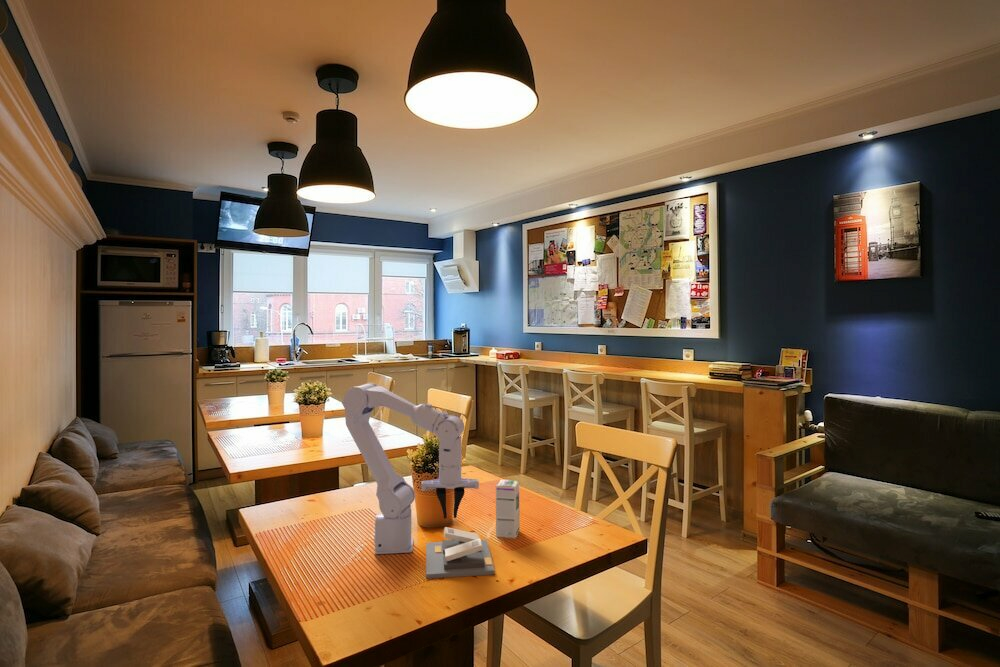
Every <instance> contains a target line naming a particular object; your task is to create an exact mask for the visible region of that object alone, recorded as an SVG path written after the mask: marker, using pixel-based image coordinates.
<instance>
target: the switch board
mask: <svg viewBox="0 0 1000 667" xmlns="http://www.w3.org/2000/svg"><path fill="white" fill-rule="evenodd" d="M463 543H467V542H462V541H457V540H452V539H444V540H442V541H437V542H436V541H434V542H426V545H425V546H426V548H425V551H426V552H425V553H426V555H425V579H426V580H427V579H440V578H442V579H443V577H444V578H458V577H472V576H473V577H474V576H475V577H476V576H491V575H492V574H496V573H495V572H496V570H495V567H494V562H493V559H492V554H491V551H490V547H489V544H488V540H487V539H481V543H482V547H483V550H481V551H478V552H475V553H472V554H469V555H466V556H462V557H459V558H456V559H453V560H450V561H446V558H445V549H447V548H451V547H454V546H457V545H460V544H463ZM492 576H493V575H492Z"/></svg>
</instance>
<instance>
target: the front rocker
mask: <svg viewBox="0 0 1000 667" xmlns="http://www.w3.org/2000/svg"><path fill="white" fill-rule="evenodd" d="M481 540H482V539H481V538H480V537H479V539H476V540H473V541H470V542H467V543H463V544H460V545H457V546H454V547H451V548H447V549H445V558H446V561H450V560H453V559H456V558H459V557H462V556H466V555H469V554H472V553H475V552H478V551H481V550H483V547H482V543H481Z"/></svg>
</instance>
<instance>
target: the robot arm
mask: <svg viewBox="0 0 1000 667" xmlns="http://www.w3.org/2000/svg"><path fill="white" fill-rule="evenodd" d="M341 404H342V406H343V408H344V414H345V415H344V416H345V425H346V426H345V427H346V428H347V430H348V431H349V432H348V433H350V436H351V437H352V440H353V442H354V443H355V445H356V447H357V448H358V450H359V452H360V455H361V456H362V458H363V460H364V462H365V463H366V466H367V467H368V469H369V471H370V473H371V475H372V478H373V479H374V481H375V483H376V485H377V487H376V493H375V494H376V495H375V496H376V497H377V500H378V508H379V511H380V512H381V513H378V514H376V515H375V519H374V539H373V540H374V542H373V544H374V554H375V555H385V554H387V555H388V554H389V555H390V554H402V553H413V548H414V538H413V537H412V508H411V507H412V506H411V505H412V504H413V503H414V501H415V498H416V493H415V490H414V488H413V487H412V485H410V484H409V483H407V481H406V480H405V477H403V476H401V475H400V474H398V473H397V472H396V470H395V468H394V467H393V465H392V463H391V462H390V460H389V457H388V455H387V453H386V452H385V450H384V448H383V446H382V445H381V443H380V440H379V439H378V437H377V435H376V433H375V431H374V429H373V427H372V426H371V423H370V422H369V421H370V418H371V415H372V413H373V411H374V409H375V408H378V407H386V408H387V409H390V410H393V411H395V412H396V413H400V414H402V415H404V416H406V417H409V418H410V419H411V422H412V424H413V425H415V426H418V427H420V428H421V429H424V430H426V431H428V432H430V433H432V434H434V435H436V438H437V439H438V440H439V443H438V445H439V447H438V460H439V461H438V478H435V479H431V480H429V479H428V480H422V481H421V485H420V486H421V492H423V491H424V492H425V491H430V490H431V491H432V490H433V491H434V490H435V494H436V497H437V499H438V501H439V504H440V505H441V506H440V507H441V509H442V513H443V514H442V515H443V519H447V518H448V516H447V515H448V514H447V490H453V499H454V500H453V509H452V510H453V514H452V515H453V519H456V518H457V516H458V511H459V510H458V509H459V508H460V505H461V502H462V499H463V498H464V496H465V489H474V490H479V486H480V483H479V482H480V481H479V479H478V478H473V479H472V478H463V477H462V465H463V464H462V462H463V461H462V456H463V455H462V447H463V446H462V434H463V433H464V431H465V423H464V421H463V419H461V417H459V416H458V415H457V414H450V415H449V413H448V412H447V411H444V412H442V411H440V410H439V409H435V408H434V407H432V406H433V404H430V403H428V402H427V403H419V405H417V404H415V403H412V402H411V401H409V400H407V399H406V398H403V397H402V396H399V395H398V394H396V393H395V392H392V391H390V390H388V389H387V388H386V387H384V386H382V385H377V384H376V383H374V382H367V383H364V384H362V385H358V386H352V387H349V389H347V390H346V392H345V394H344V396H343V399H342V401H341Z"/></svg>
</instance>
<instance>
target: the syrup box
mask: <svg viewBox="0 0 1000 667" xmlns="http://www.w3.org/2000/svg"><path fill="white" fill-rule="evenodd" d="M520 528H521V527H520V481H519V480H516V479H500V480H498V483H497V484H496V485H495V536H496V537H497V538H503V537H506V539H517V537H518V534H519V531H520V530H521V529H520Z"/></svg>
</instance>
